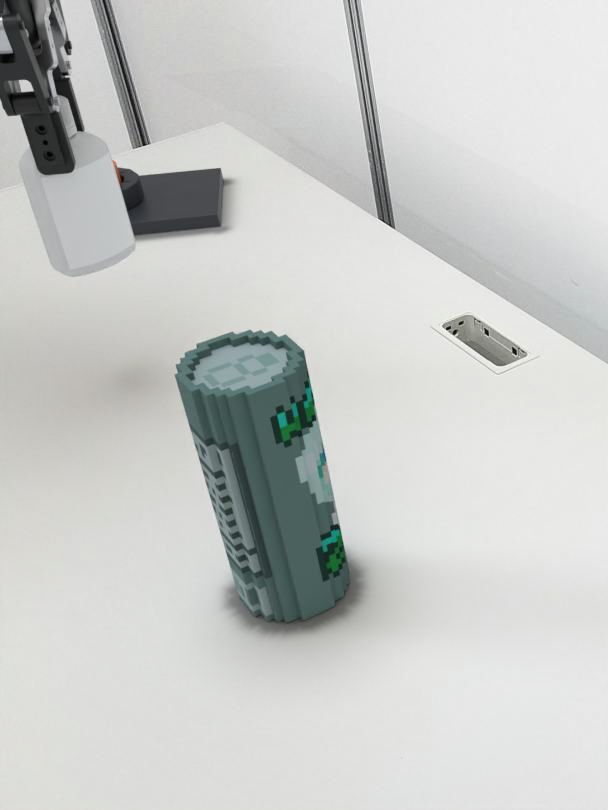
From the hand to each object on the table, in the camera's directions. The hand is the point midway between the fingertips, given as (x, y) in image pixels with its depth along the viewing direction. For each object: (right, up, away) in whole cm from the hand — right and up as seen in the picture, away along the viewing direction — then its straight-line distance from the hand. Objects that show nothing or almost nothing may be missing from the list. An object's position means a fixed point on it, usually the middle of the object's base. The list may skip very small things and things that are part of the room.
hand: (63, 153), depth 78 cm
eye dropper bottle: (0, -6, +5) cm, 8 cm away
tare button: (-9, +8, +29) cm, 31 cm away
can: (+16, -28, -6) cm, 33 cm away
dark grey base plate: (-5, +6, +31) cm, 32 cm away
